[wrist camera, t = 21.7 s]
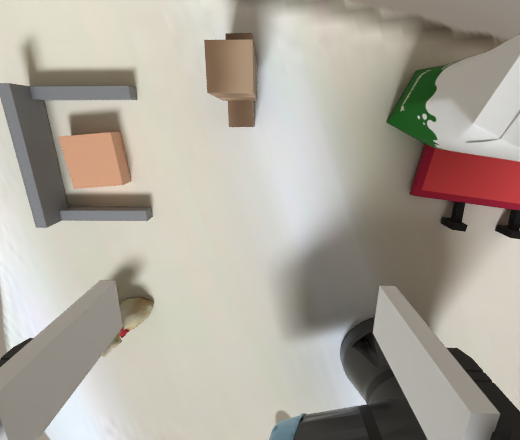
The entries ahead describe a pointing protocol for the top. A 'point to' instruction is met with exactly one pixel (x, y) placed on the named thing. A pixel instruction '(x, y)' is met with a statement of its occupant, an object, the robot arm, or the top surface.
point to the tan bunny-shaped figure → (130, 317)
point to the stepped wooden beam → (233, 75)
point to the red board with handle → (470, 185)
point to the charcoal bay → (44, 155)
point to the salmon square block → (95, 159)
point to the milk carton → (466, 104)
